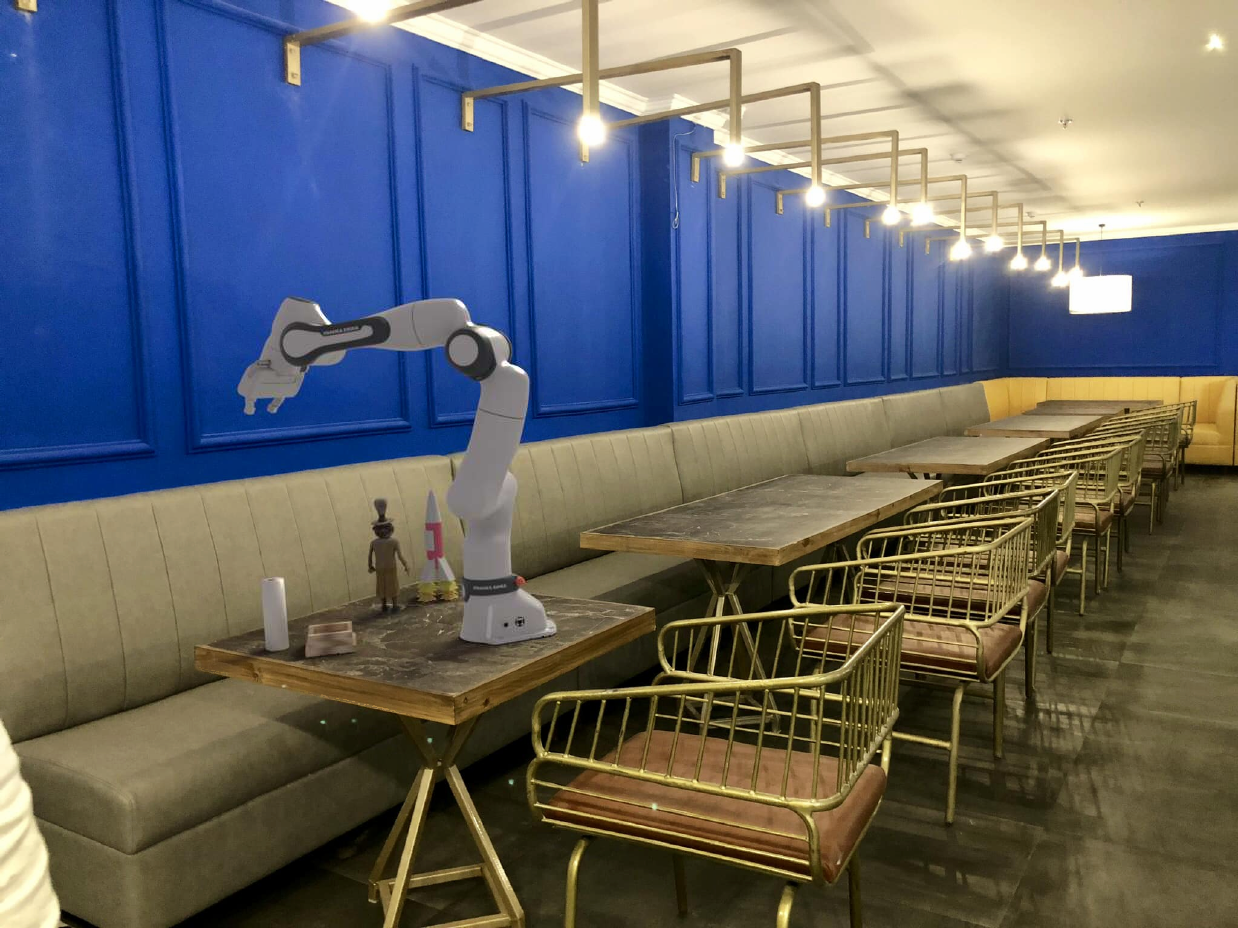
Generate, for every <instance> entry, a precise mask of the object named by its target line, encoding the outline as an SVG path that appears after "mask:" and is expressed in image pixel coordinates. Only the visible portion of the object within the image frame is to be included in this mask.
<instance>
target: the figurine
mask: <svg viewBox="0 0 1238 928" xmlns="http://www.w3.org/2000/svg"><path fill="white" fill-rule="evenodd" d="M373 505H374V508H375V510H376V513H377V515H378V519H376V520H372V521H371V522H370V525H371V526H372V531H373V532H374V534H375V536H376V537H378V538H375V539H374V540H372V541H370V545H369V551H368V556H367V567H368V569H367V572H368V573H369V574H373V573H374V572H375V577H376V582H375V583H376V585H375V586H376V587H375V597H376V599H380V601H381V609H380V614H387V613H389V612H390V611H391V612H390V613H391V614H399V613H400V612H402V611H403V610H405V609H407V608H406V607H407V605H406V604H398V597H399V596H400V595H401V588H400V583H399V577H398V567H397V559H396V555H397V558H398V560H399V561H400V563H401V565H402V567H404V572H406V575H407V577H408V578H410V575H409V574H410V571H411V570H410V569H411V567H410V566H409V565H408V562H407V561H406V559H405V558H404V556H403V553H402V551H401V545H400V542H399V540H398V539H397V538H395V537H392V535H393V534H394V533H395V526H394V525H393V522H394V518H391V517H386V511H387V508H388V500H387V499H386V498H382V497H377V498H375V499H374V501H373ZM373 554H374V557H375V562H374V563H375V564H373ZM373 565H374V566H373ZM387 599H391V601H392V604H389V605H387ZM401 610H402V611H401Z"/></svg>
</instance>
